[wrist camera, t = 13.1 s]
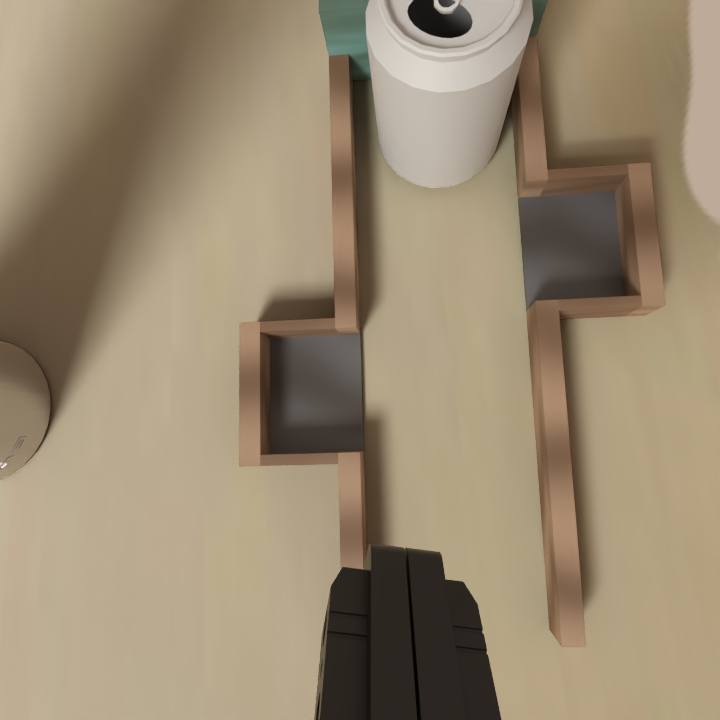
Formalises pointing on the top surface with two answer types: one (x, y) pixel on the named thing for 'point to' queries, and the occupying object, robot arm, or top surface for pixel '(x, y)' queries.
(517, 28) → the can
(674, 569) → the top surface
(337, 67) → the trap channel
